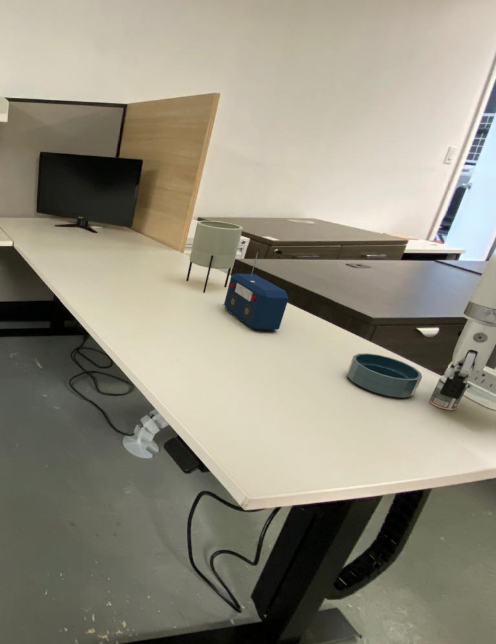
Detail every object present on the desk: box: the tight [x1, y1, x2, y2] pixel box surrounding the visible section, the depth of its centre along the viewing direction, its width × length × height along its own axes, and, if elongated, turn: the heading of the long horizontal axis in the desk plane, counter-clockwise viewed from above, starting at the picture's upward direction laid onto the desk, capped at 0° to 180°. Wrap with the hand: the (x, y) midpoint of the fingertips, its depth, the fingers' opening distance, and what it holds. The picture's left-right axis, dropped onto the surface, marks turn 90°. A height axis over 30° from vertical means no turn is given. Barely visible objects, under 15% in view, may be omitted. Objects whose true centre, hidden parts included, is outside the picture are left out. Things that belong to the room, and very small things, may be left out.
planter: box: [185, 220, 244, 294], centre depth 169 cm, size 15×16×23 cm
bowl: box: [346, 352, 423, 398], centre depth 109 cm, size 13×13×5 cm
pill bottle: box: [429, 367, 471, 411], centre depth 101 cm, size 5×5×8 cm
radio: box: [223, 251, 289, 331], centre depth 140 cm, size 21×9×20 cm, turn 6°
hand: (449, 390), depth 101 cm, fingers open, 5 cm apart
